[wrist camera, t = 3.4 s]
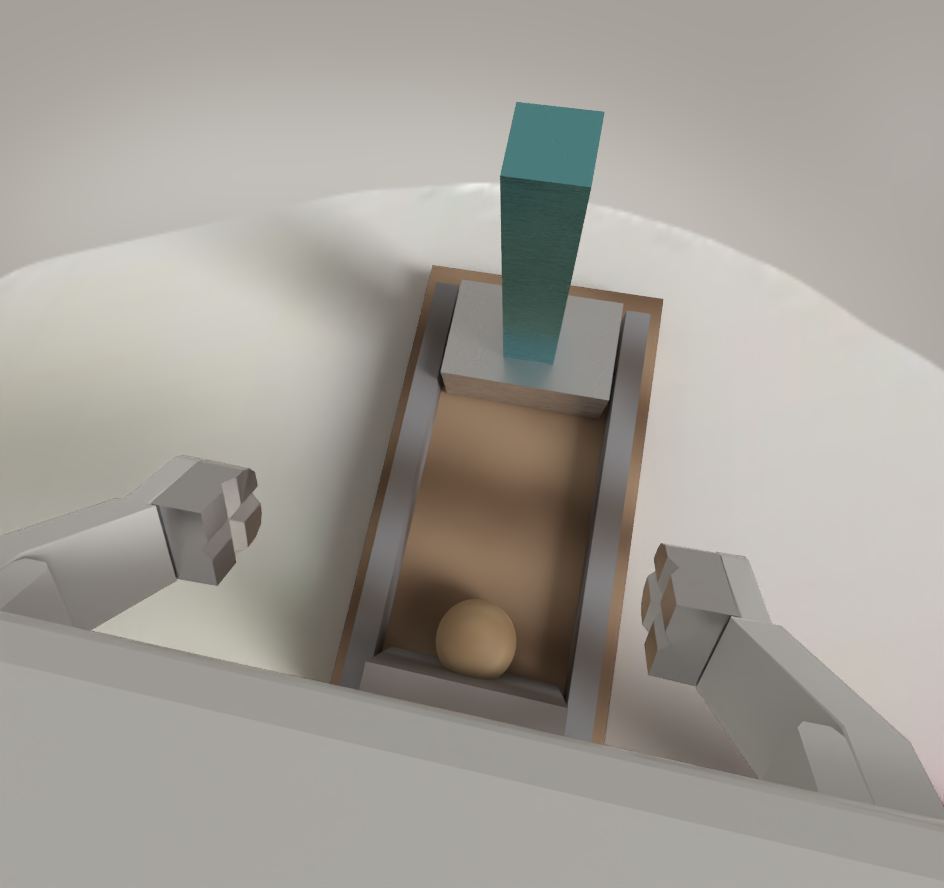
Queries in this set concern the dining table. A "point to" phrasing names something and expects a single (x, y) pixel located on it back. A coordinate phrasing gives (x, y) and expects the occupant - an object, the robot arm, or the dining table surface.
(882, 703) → the dining table surface
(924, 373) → the dining table surface
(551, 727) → the tray
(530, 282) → the track slider block
